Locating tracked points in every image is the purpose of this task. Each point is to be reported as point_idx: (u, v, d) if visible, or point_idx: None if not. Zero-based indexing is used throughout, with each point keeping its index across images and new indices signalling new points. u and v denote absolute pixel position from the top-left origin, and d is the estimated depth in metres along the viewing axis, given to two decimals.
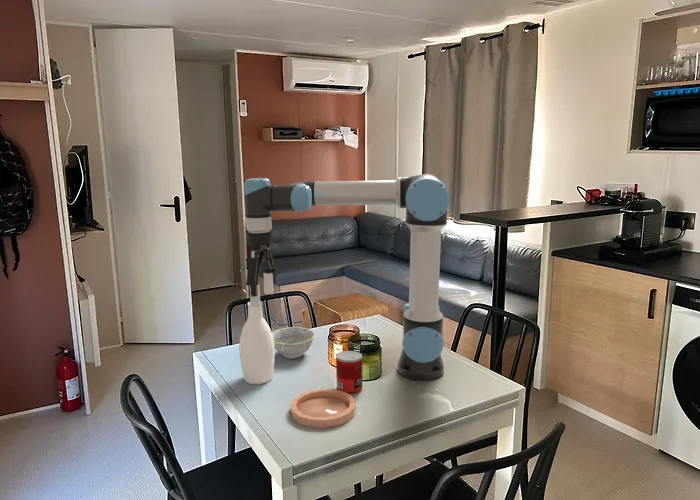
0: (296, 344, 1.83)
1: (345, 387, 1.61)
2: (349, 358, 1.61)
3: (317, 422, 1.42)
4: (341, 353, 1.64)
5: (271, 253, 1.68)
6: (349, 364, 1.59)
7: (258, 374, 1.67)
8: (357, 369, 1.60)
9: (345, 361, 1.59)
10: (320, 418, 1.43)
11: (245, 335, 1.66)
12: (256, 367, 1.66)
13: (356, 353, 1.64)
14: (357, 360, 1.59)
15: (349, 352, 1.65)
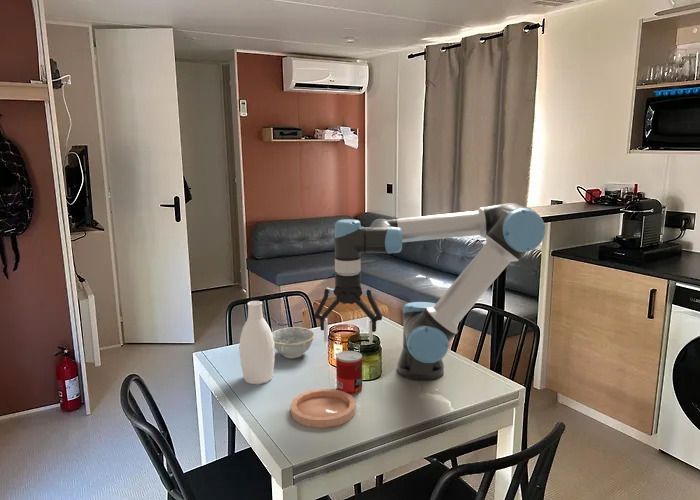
0: (296, 344, 1.83)
1: (345, 387, 1.61)
2: (349, 358, 1.61)
3: (317, 422, 1.42)
4: (341, 353, 1.64)
5: (373, 302, 1.57)
6: (349, 364, 1.59)
7: (258, 374, 1.67)
8: (357, 369, 1.60)
9: (345, 361, 1.59)
10: (320, 418, 1.43)
11: (245, 335, 1.66)
12: (256, 367, 1.66)
13: (356, 353, 1.64)
14: (357, 360, 1.59)
15: (349, 352, 1.65)
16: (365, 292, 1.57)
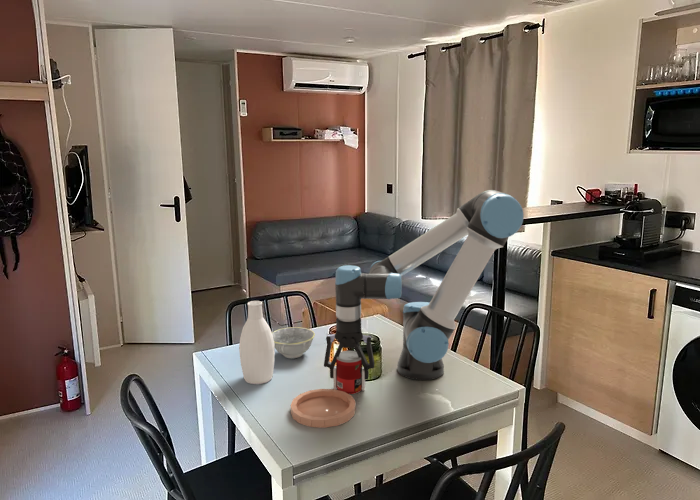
0: (296, 344, 1.83)
1: (345, 387, 1.61)
2: (349, 358, 1.61)
3: (317, 422, 1.42)
4: (341, 353, 1.64)
5: (370, 350, 1.60)
6: (349, 364, 1.59)
7: (258, 374, 1.67)
8: (357, 369, 1.60)
9: (345, 361, 1.59)
10: (320, 418, 1.43)
11: (245, 335, 1.66)
12: (256, 367, 1.66)
13: (356, 353, 1.64)
14: (357, 360, 1.59)
15: (349, 352, 1.65)
16: (365, 338, 1.60)
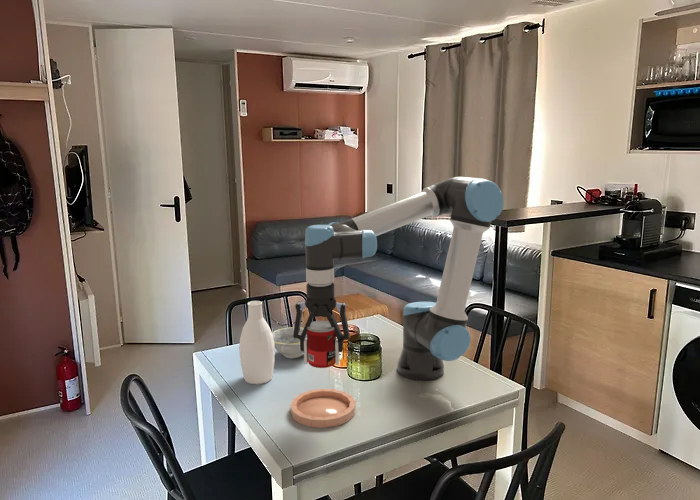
0: (296, 344, 1.83)
1: (316, 360, 1.45)
2: (321, 328, 1.45)
3: (317, 422, 1.42)
4: (313, 323, 1.48)
5: (344, 319, 1.44)
6: (321, 334, 1.43)
7: (258, 374, 1.67)
8: (330, 339, 1.44)
9: (316, 331, 1.43)
10: (320, 418, 1.43)
11: (245, 335, 1.66)
12: (256, 367, 1.66)
13: (329, 323, 1.48)
14: (330, 330, 1.44)
15: (322, 322, 1.49)
16: (339, 306, 1.44)
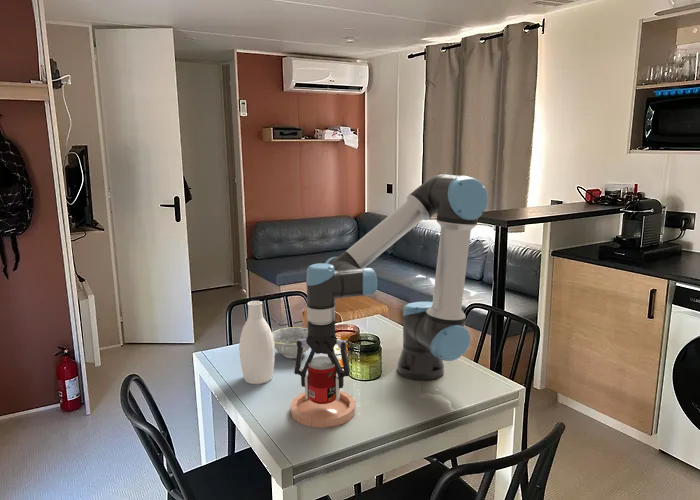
0: (296, 344, 1.83)
1: (317, 396, 1.47)
2: (322, 365, 1.47)
3: (317, 422, 1.42)
4: (314, 359, 1.51)
5: (345, 356, 1.46)
6: (322, 372, 1.45)
7: (258, 374, 1.67)
8: (330, 376, 1.46)
9: (317, 368, 1.45)
10: (320, 418, 1.43)
11: (245, 335, 1.66)
12: (256, 367, 1.66)
13: None
14: (330, 367, 1.46)
15: (322, 358, 1.51)
16: (339, 343, 1.46)
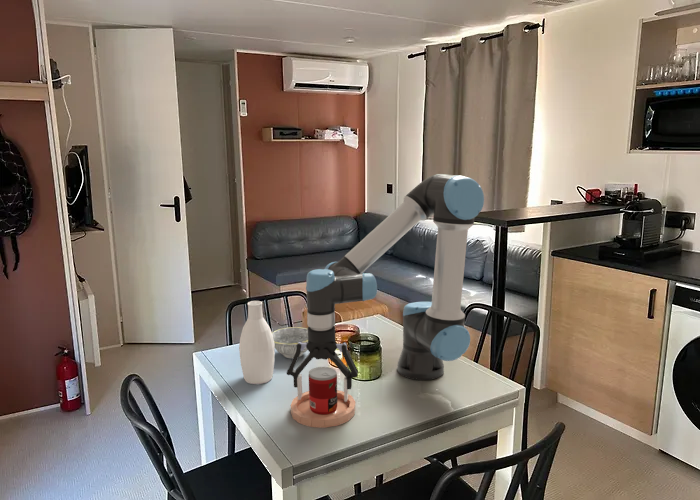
0: (296, 344, 1.83)
1: (318, 407, 1.47)
2: (322, 375, 1.48)
3: (317, 422, 1.42)
4: (314, 369, 1.51)
5: (348, 358, 1.46)
6: (322, 382, 1.46)
7: (258, 374, 1.67)
8: (331, 387, 1.47)
9: (318, 379, 1.46)
10: (320, 418, 1.43)
11: (245, 335, 1.66)
12: (256, 367, 1.66)
13: (331, 370, 1.51)
14: (331, 378, 1.46)
15: (323, 368, 1.52)
16: (340, 347, 1.47)
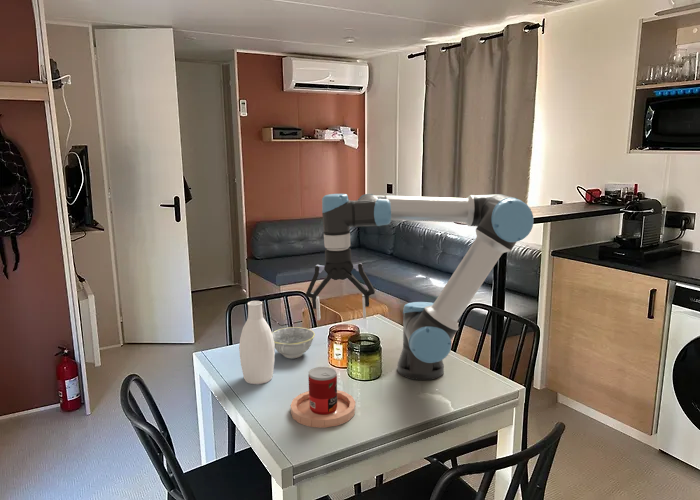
0: (296, 344, 1.83)
1: (318, 407, 1.47)
2: (322, 375, 1.48)
3: (317, 422, 1.42)
4: (314, 370, 1.51)
5: (365, 276, 1.55)
6: (322, 382, 1.46)
7: (258, 374, 1.67)
8: (331, 387, 1.47)
9: (317, 379, 1.46)
10: (320, 418, 1.43)
11: (245, 335, 1.66)
12: (256, 367, 1.66)
13: (330, 369, 1.51)
14: (331, 378, 1.46)
15: (323, 368, 1.52)
16: (356, 267, 1.55)
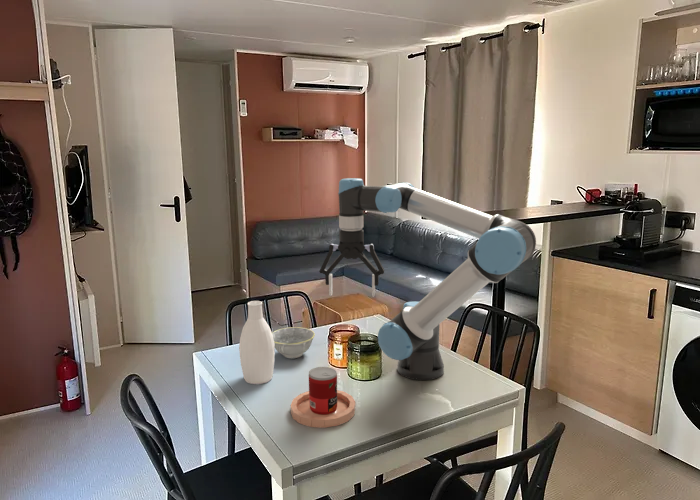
0: (296, 344, 1.83)
1: (318, 407, 1.47)
2: (322, 375, 1.48)
3: (317, 422, 1.42)
4: (314, 369, 1.51)
5: (376, 256, 1.65)
6: (322, 382, 1.46)
7: (258, 374, 1.67)
8: (331, 387, 1.47)
9: (317, 379, 1.46)
10: (320, 418, 1.43)
11: (245, 335, 1.66)
12: (256, 367, 1.66)
13: (331, 370, 1.51)
14: (331, 378, 1.46)
15: (323, 368, 1.52)
16: (368, 247, 1.66)
